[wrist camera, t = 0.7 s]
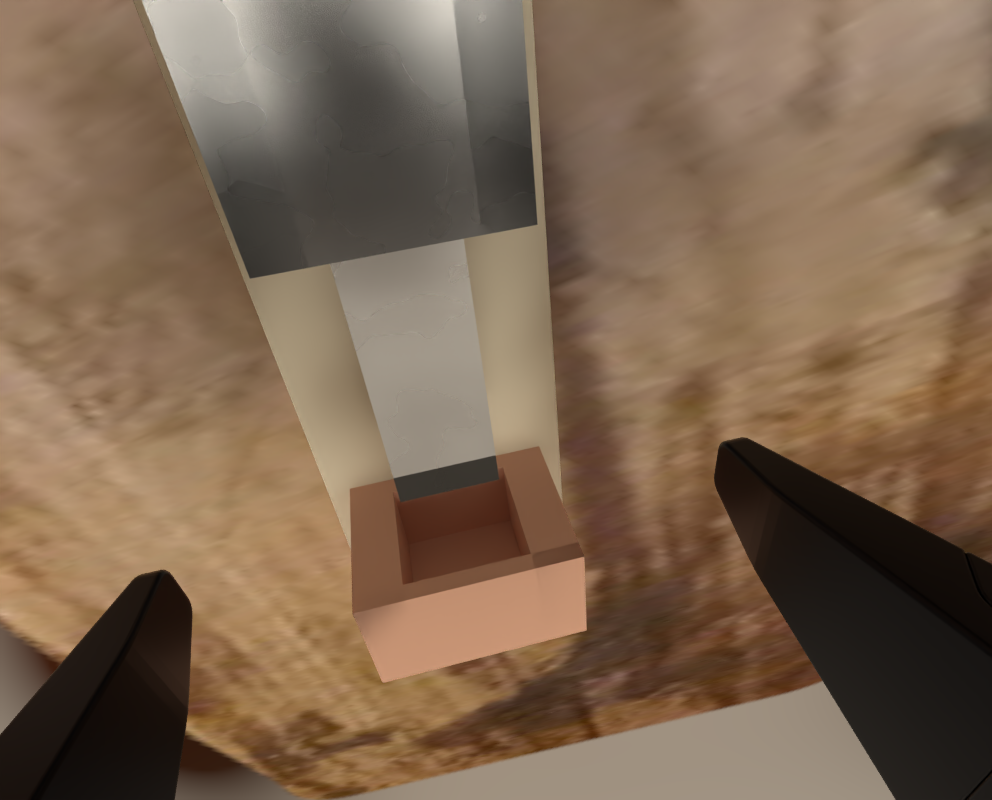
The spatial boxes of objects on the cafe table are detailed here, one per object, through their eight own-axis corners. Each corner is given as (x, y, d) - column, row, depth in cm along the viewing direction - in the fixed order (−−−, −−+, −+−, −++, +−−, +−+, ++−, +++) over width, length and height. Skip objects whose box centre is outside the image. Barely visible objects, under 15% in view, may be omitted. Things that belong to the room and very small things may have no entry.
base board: (500, -320, 12) (511, -338, 12) (560, 551, 29) (566, 568, 29) (38, -276, 12) (17, -293, 11) (375, 597, 29) (376, 615, 28)
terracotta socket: (539, 445, 24) (584, 556, 19) (545, 518, 26) (586, 630, 22) (349, 489, 23) (352, 613, 19) (375, 558, 26) (383, 682, 21)
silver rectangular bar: (357, -351, 10) (362, -442, 8) (480, 419, 21) (499, 479, 18) (175, -335, 10) (126, -425, 8) (393, 438, 20) (400, 502, 18)
